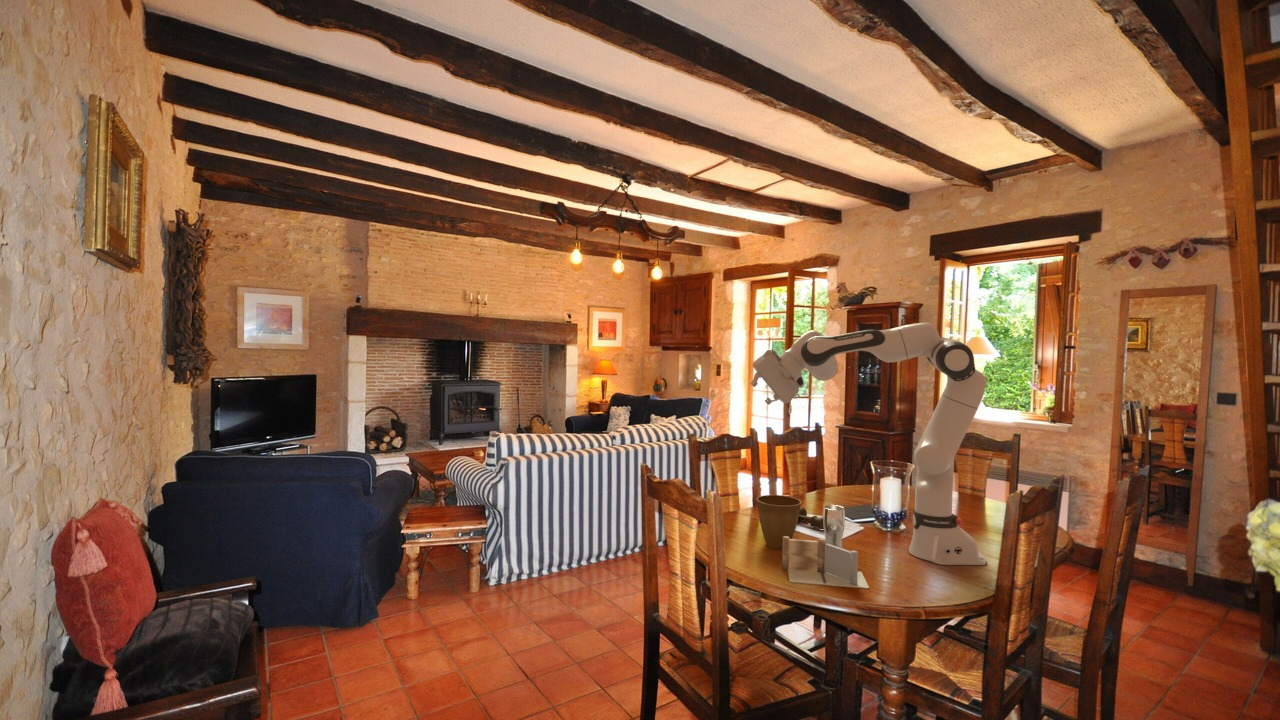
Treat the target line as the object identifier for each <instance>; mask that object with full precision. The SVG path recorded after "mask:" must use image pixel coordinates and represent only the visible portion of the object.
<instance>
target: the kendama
mask: <svg viewBox="0 0 1280 720" xmlns="http://www.w3.org/2000/svg"><path fill="white" fill-rule="evenodd" d="M798 520H799V521H801V520H803V521H804V522H806V523H808V524H810V526H811V527H812V526H815V527H816V528H818V529H824V527H823V517H818V516H817V515H813V516H808V512H807V510H806V508H805V507H803V506H802V505H801V506H800V512H799V517H798ZM815 527H814V528H815Z"/></svg>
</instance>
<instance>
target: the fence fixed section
mask: <svg viewBox="0 0 1280 720" xmlns="http://www.w3.org/2000/svg"><path fill="white" fill-rule="evenodd" d="M825 544H826V539H825V538H823V537H821V538H817V540H809V539H796V538H792V539H789V537H788V536H783V549H782V557H781V558H782V567H781V568H782V570H783V571H788V569H792V570H805V571H819V572H824V563H825Z"/></svg>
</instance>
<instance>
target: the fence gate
mask: <svg viewBox="0 0 1280 720" xmlns="http://www.w3.org/2000/svg"><path fill="white" fill-rule="evenodd" d="M858 566H859V551H857V550H848V549H845V548H843V547H842V548H839V547H836V546H834V545H831V544H828V543H827V544H825V563H824V572H827V573H829V574H832V575H834V576H837V577H839V578H842V579H844V580H847V581H849V582H850V583H851V584H853V585H857V582H858V569H859V567H858Z"/></svg>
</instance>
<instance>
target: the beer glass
mask: <svg viewBox="0 0 1280 720" xmlns="http://www.w3.org/2000/svg"><path fill="white" fill-rule="evenodd" d="M845 514H846V513H845V507H844V506H841V505H836V504H825V505H824V506H823V513H822V518H823V527H824V530H823V534H824V539H826V544H827V543H828V544H831V545H834V546H836V547H839V548H842V549H843V542H842V541H843V536H844V531H845V526H846V525H845V524H846V523H845V522H846V515H845Z"/></svg>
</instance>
